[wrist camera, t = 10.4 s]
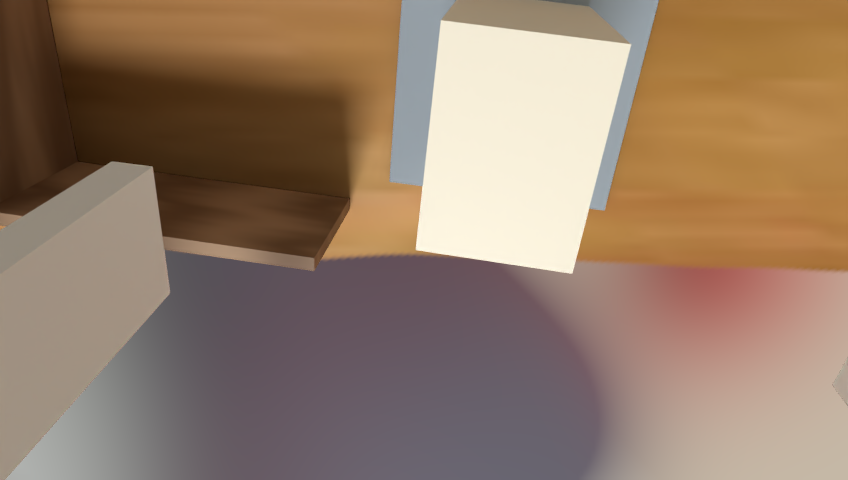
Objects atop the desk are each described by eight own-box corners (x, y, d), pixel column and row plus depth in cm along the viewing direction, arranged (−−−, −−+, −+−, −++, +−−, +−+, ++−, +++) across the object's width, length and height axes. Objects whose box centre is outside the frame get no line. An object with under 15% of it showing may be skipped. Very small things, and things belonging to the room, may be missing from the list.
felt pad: (390, 178, 28) (389, 181, 28) (407, -56, 23) (405, -56, 23) (603, 206, 27) (604, 210, 27) (663, -29, 23) (666, -28, 22)
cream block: (442, 156, 27) (415, 249, 19) (463, -10, 24) (440, 20, 16) (553, 172, 27) (572, 273, 19) (589, 6, 23) (631, 43, 15)
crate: (68, 171, 30) (-25, 221, 25) (4, -145, 24) (-140, -167, 19) (349, 209, 29) (314, 270, 24) (360, -109, 23) (315, -122, 18)
